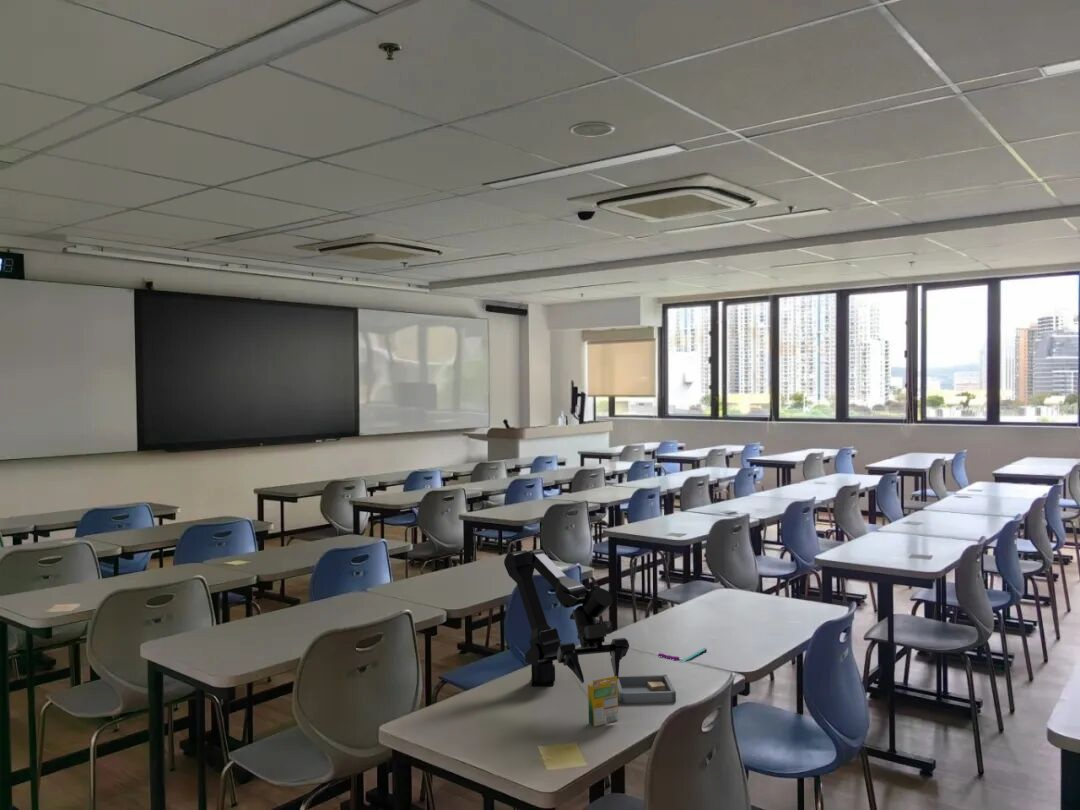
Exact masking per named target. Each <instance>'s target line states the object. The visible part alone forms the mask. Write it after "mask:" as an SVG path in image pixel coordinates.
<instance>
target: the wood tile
mask: <svg viewBox="0 0 1080 810" xmlns="http://www.w3.org/2000/svg"><path fill="white" fill-rule="evenodd" d="M647 686H648V687H649V688H650V689H651V691H660V690H666V685H665V684H664V683H663V682H662V681H653V682H647Z"/></svg>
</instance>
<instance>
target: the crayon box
mask: <svg viewBox="0 0 1080 810" xmlns="http://www.w3.org/2000/svg"><path fill="white" fill-rule="evenodd" d="M587 698H588V699H587V701H588V702H587V703H588V705H587V706H588V724H589V723H590V725H591V726H592V727H593V728H596V727H599V726H603V725H608V724H612V723H614V722H615V721H618V720H619V698H618V689H617V676H615V677H614V676H611V677H605V678H601V679H600V678H599V679H595V680H592V683H591V684H588V685H587Z"/></svg>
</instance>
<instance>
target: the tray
mask: <svg viewBox="0 0 1080 810" xmlns="http://www.w3.org/2000/svg"><path fill="white" fill-rule="evenodd" d="M613 677H615V676H613ZM653 681H662V682H663V683H664V684H665V685H666V690H660V691H651V689H650V688H649V687H648V686H647V682H653ZM617 689H618V702H619V703H620V704H642V703H643V704H645V703H647V704H648V703H649V704H651V703H676V702H677V698H676V697H677V695H676V693H677V692H676V690H675V689H674V687H673V684H672V683H671V680H670V679H669V677H668V674H648V675H647V674H645V675H644V674H642V675H641V674H639V675H618V679H617Z"/></svg>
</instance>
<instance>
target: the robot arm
mask: <svg viewBox="0 0 1080 810" xmlns="http://www.w3.org/2000/svg"><path fill="white" fill-rule="evenodd" d="M503 565H504V567H505V570H506V572H507V574H508V577H510V578H511V579H512V580H513V581H514V582H515V583H516V584H517V588H518V591H519V595H520V598H521V600H522V604H523V607H524V609H525V614H526V616H527V619H528V623H529V627H530V629H531V630H530V636H529V646H530V647H529V649H528V650H527V652H526V653H525V654H524V659H525V663H527V664H530V665H531V666H530V667H531V669H530V670H531V677H530V679H531V680H530V682H531V683H530V684H531V685H530V686H532V687H539V686H542V687H543V686H545V687H546V686H548V687H549V686H554V685H555V682H556V665H555V664H554V661H557V663H558V664H563V666H565V667H566V666H567V667H568V668H569V669H570V670H571V671H572V672H573V674H575V676H576V677H577V679H578V680H579V682H580V683H581V684H584V683H585V679H584V674H583V671H582V667H581V665H580V661H579V656H582V655H583V656H584V655H593V654H604V653H609V655H610V657H611V658H610V662H611V667H612V671H613V675H614V676H617V679H618V676H620V675H619V671H620V661H621V660H622V659H623V658H624V657H625V656H627V653H628V652H629V649H630V643H629V640H628V639H626V638H625V637H620V638H618V637H617V638H612V641H611V643H609V644H603V643H604V642H605V641H606V639H605V637H606V638H607V635H611V634H612V633H613V626H612V622H611V620H604V621H603V622H601V623H598V622H597V618H599V617H601V616H602V615H603V614H604V613H605V612H606V611H607V610H608V609H609V608H610V607H611V606H612V604H613V602H614V600H613V597H612V594H611V593H610V592H609V591H607V590H606V589H605V588H601V586H600V585H599V584H595V585H592V587H591V588H590V590H589V589H588V588H586V586H585V585H583V584H582V583H581V582H580V581H578V580H577V579H574V578H571V577H568V576H567V575H566V574H565V573H564V572H563V571H562V570H561V569H560V568H559V567H558V566H557V565H556V564H555V562H553V561H552V560H551V559H550V557H548V556H547V555H546V551H544V550H543V549H541V548H536V549H531V550H526V549H525V550H519V551H514V552H513V551H512V552H508V553H507V554H506V556H505V557H504V561H503ZM535 571H537V572H538V573H539V574H540V576H541V577H543V579H544V580H545V581H546V582H547V583H548V584H549V585H550V586H551V587H552V588H553V589H554V594H555V598H556V599H557V600H558V602H559V603H560V605H561V606H562V607H564V608H565V609H569V608H573V607H575V608H574V609H572V612H571V614H570V615H569V619H570V620H572V621H574V622H575V626H576V630H577V632H576V633H577V640H579V644H580V646H577V647H576V645H575V643H574V642H566V643H561V642H562V640H561V638H560V636H559V633H558V630H557V628H554V627H553V628H552V627H551V626H550V625H549V624H548V621H547V619H546V618H547V617H546V616H545V612H544V610H543V605H542V602H541V600H540V597H539V594H538V591H537V587H536V585H535V582H534V578H533V577H534V572H535ZM614 676H613V677H614Z"/></svg>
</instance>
